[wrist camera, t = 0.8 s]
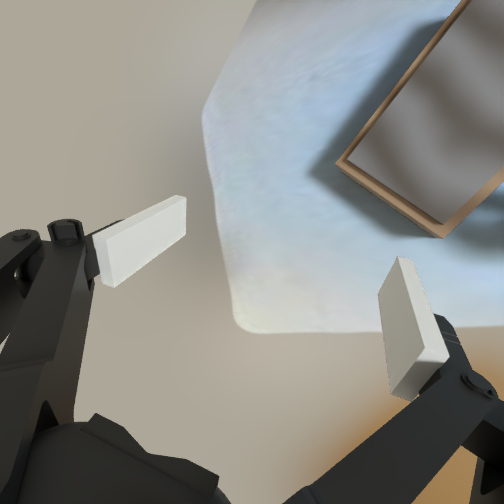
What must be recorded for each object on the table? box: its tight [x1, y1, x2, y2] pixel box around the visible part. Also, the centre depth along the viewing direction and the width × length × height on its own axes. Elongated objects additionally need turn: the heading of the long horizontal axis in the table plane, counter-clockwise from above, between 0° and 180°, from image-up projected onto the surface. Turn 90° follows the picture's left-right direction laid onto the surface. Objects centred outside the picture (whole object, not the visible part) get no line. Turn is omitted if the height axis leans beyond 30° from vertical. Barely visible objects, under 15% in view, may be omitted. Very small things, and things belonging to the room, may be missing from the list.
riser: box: [335, 0, 504, 239], centre depth 27 cm, size 20×14×5 cm
